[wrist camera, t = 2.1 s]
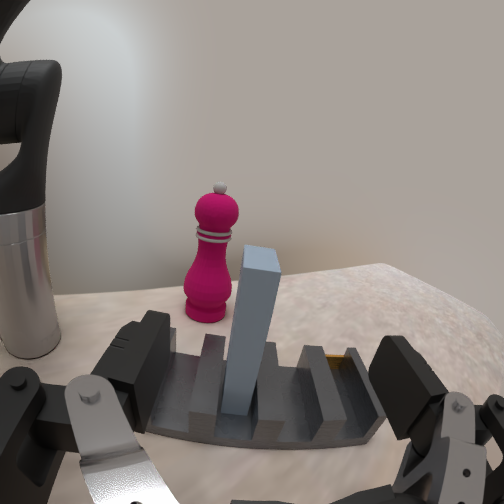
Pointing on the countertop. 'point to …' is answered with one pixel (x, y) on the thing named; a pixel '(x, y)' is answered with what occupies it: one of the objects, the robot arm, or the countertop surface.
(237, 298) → the panel
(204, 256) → the pepper mill
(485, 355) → the countertop surface
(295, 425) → the rack
